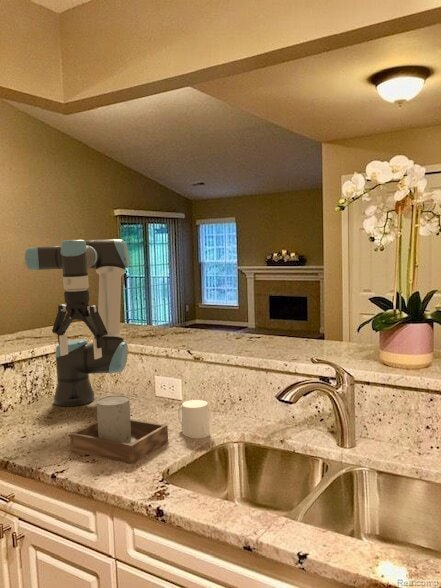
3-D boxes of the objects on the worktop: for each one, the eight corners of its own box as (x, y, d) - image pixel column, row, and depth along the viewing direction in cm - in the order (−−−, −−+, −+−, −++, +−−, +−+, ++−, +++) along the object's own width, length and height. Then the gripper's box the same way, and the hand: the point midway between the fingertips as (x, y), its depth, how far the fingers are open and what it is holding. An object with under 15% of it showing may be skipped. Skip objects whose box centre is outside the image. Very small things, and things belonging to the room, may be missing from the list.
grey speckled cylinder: (106, 450, 139) (104, 407, 138) (93, 440, 146) (91, 399, 145) (137, 441, 144) (135, 400, 143) (123, 432, 152) (121, 393, 151)
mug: (215, 403, 152) (196, 409, 146) (216, 433, 153) (197, 440, 147) (188, 396, 160) (169, 402, 154) (189, 424, 161) (170, 431, 155)
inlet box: (110, 431, 157) (109, 415, 157) (168, 441, 147) (167, 425, 146) (71, 450, 142) (70, 434, 142) (132, 464, 132) (131, 445, 131)
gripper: (37, 290, 156) (42, 356, 158) (100, 292, 145) (105, 362, 147) (54, 287, 162) (59, 350, 165) (116, 289, 152) (120, 356, 154)
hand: (81, 356), depth 156 cm, fingers open, 13 cm apart
